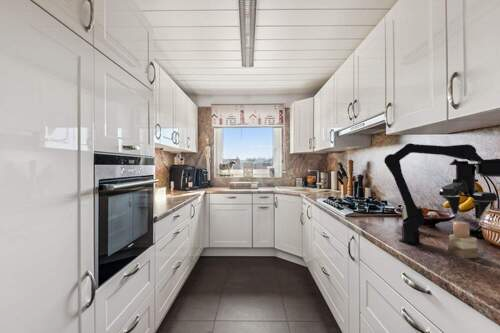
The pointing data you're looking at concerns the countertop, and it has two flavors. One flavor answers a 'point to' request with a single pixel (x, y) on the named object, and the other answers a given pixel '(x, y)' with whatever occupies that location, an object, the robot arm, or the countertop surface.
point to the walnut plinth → (463, 252)
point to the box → (404, 212)
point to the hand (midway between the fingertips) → (465, 216)
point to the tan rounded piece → (461, 229)
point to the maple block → (463, 242)
